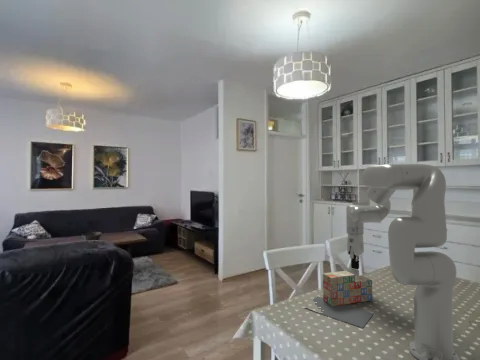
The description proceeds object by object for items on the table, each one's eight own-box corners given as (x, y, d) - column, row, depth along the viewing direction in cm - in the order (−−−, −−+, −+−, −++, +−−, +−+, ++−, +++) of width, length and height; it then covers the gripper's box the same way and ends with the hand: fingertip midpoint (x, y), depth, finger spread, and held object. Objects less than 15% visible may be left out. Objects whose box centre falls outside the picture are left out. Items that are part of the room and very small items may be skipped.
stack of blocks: (362, 295, 124) (362, 268, 124) (372, 300, 118) (372, 273, 118) (322, 300, 118) (322, 272, 119) (331, 306, 112) (331, 277, 112)
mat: (362, 328, 96) (362, 327, 96) (303, 308, 112) (303, 307, 112) (373, 313, 106) (373, 313, 106) (317, 297, 122) (317, 296, 122)
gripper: (358, 234, 119) (358, 274, 119) (367, 229, 130) (368, 266, 130) (341, 231, 124) (341, 270, 124) (352, 227, 135) (352, 263, 135)
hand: (355, 268), depth 127 cm, fingers closed
